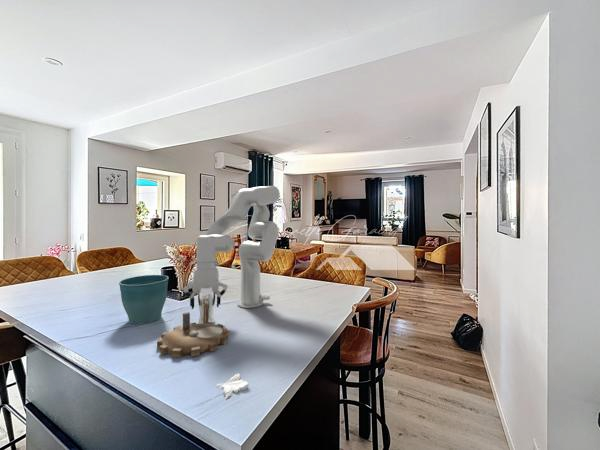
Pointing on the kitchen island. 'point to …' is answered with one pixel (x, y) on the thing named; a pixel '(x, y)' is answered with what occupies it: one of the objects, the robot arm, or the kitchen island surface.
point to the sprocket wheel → (192, 338)
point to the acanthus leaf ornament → (233, 385)
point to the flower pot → (144, 297)
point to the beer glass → (206, 305)
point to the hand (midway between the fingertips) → (205, 307)
